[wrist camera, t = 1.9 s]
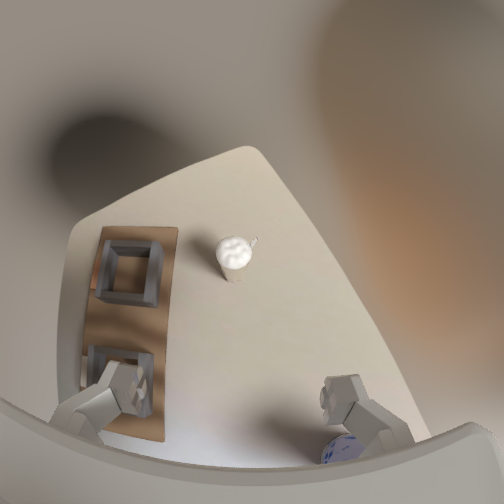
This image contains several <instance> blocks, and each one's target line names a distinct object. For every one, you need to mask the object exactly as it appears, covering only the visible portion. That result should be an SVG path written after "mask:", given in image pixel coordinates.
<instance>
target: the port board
mask: <svg viewBox="0 0 504 504" xmlns="http://www.w3.org/2000/svg"><path fill="white" fill-rule="evenodd" d="M177 237H178V228H177V227H104V228H103V232H102V236H101V240H100V244H99V248H98V252H97V257H96V260H95V264H94V269H93V274H92V279H91V285H90V293H89V299H88V306H87V313H86V320H85V329H84V339H83V350H82V359H81V382H80V386H81V391H83V390H85V389H86V388H88V387H90V386H91V385H93V384H98V382H99V380H100V378H101V376H102V374H103V372H104V370H105V368H106V366H107V364H108V363H109V362H110V361H111V360H113V361H118V362H122V363H127V364H132V365H136V366H141V367H142V369H143V374H142V376H143V377H144V378H145V379H146V385H147V388H146V394H145V397H144V398H142V399H141V403H142V406H141V409H140V412H139V415H134V414H129V413H124V412H121V414H120V415H118V416H117V417H116V418H115V419H114V420H113V421H111V422H110V423H109V424H108V425H107V426H105V427H104V428H103V430H107V431H111V432H115V433H119V434H123V435H127V436H131V437H136V438H141V439H146V440H151V441H157V442H164V441H165V431H164V396H165V363H166V344H167V329H168V316H169V305H170V294H171V285H172V276H173V267H174V259H175V251H176V244H177Z"/></svg>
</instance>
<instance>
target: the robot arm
mask: <svg viewBox="0 0 504 504" xmlns="http://www.w3.org/2000/svg"><path fill="white" fill-rule="evenodd" d="M142 374H143V369H142V367H141V366H136V365H132V364H127V363H122V362H118V361H113V360H111V361H110V362H109V363H108V364H107V366H106V368H105V370H104V372H103V374H102V376H101V378H100V380H99V382H98V384H93V385H91V386H90V387H88V388H86V389H85V390H83V391H81V392H79V393H78V394H76V395H74V396H72V397H71V398H69V399H67V400H65V401H64V402H62V403H60V404H59V405H58V407H57V409H56V410H55V412H54V414H53V416H52V418H51V420H50V422H49V423H47V422H45V421H43V420H41V419H39V418H37V417H35V416H33V415H31V414H29V413H27V412H25V411H24V410H21V409H20V408H18V407H16V406H15V405H13V404H11V403H10V402H8V401H6V400H5V399H3V398H1V397H0V504H504V455H503V453H502V450H501V448H500V446H499V444H498V442H497V440H496V438H495V436H494V435H493V434H492V432H491V431H489V430H488V429H486V428H484V427H482V426H480V425H479V424H476V423H474V422H468V423H465V424H463V425H461V426H458V427H456V428H454V429H452V430H449V431H447V432H445V433H442V434H439V435H437V436H434V437H432V438H429V439H426V440H423V441H420V442H417V443H415V441H414V439H413V436H412V434H411V432H410V429H409V427H408V425H407V423H405V422H404V421H402V420H401V419H400V418H398V417H397V416H395V415H394V414H392V413H391V412H390V411H388V410H387V409H385V408H384V407H383V406H381V405H380V404H378V403H377V402H376V401H374V400H373V399H369V397H368V394H367V392H366V390H365V387H364V385H363V382H362V380H361V378H360V375H358V374H353V375H341V376H328V377H326V379H325V381H324V383H325V386H324V387H323V388H322V389H321V392H320V404H321V407H322V408H323V409H324V410H325V411H324V413H323V417H324V421H325V425H326V426H327V425H339V424H343V426H344V427H345V428H346V429H347V430H348V431H349V432H350V433H351V434H352V435H353V436H354V437H355V438H356V439H357V440H358V441H359V442H360V443H361V444H362V445H363V446H364V447H365V450H364V451H363V452H362V453H361V454H360V456H359V457H358V458H357V459H352V460H347V461H341V462H334V463H327V464H319V465H310V466H299V467H284V468H232V467H217V466H205V465H196V464H189V463H181V462H175V461H169V460H164V459H158V458H153V457H149V456H144V455H140V454H136V453H132V452H128V451H124V450H120V449H117V448H113V447H110V446H107V445H104V443H103V441H102V440H101V438H100V437H99V436H98V434H97V433H98V432H99V431H101V430H102V429H103V428H104V427H105V426H107V425H108V424H109V423H110V422H111V421H113V420H114V419H115V418H116V417H117V416H118V415H120V414H121V412H124V413H129V414H134V415H139V412H140V409H141V406H142V403H141V399H142V398H144V397H145V394H146V388H147V385H146V379H145V378H144V377H143V376H142Z"/></svg>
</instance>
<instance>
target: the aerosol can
mask: <svg viewBox="0 0 504 504" xmlns="http://www.w3.org/2000/svg"><path fill="white" fill-rule="evenodd" d="M364 450H365V447H364V446H363V445H362V444H361V443H360V442H359V441H358V440H357V439H356V438H355V437H354V436H353V435H352V434H344V435H341V436H339V437H336V438H335V439H333V440H332V441H331V442H329V443H328V445H327V446H326V447H325V448H324V450H323V453H322V455H321V464H327V463H334V462H341V461H347V460H352V459H357V458H358V457H359V456H360V454H361V453H362V452H363V451H364Z"/></svg>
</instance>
